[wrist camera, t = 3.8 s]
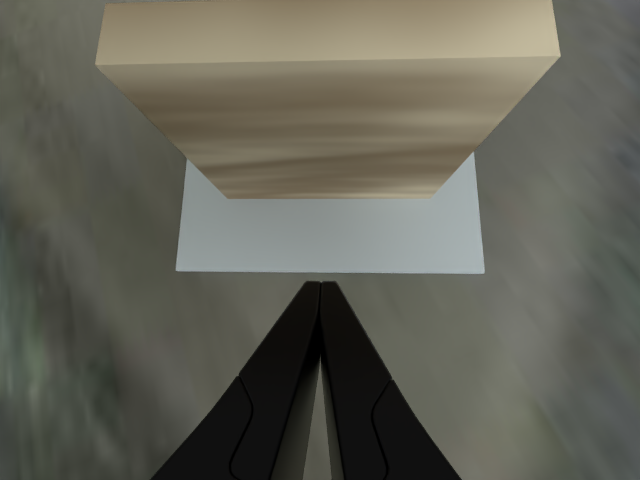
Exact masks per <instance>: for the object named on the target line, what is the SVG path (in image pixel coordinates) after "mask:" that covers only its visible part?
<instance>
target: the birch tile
mask: <svg viewBox="0 0 640 480" xmlns="http://www.w3.org/2000/svg"><path fill="white" fill-rule="evenodd" d="M559 57H560V49H559V43H558V37H557V31H556V24H555V18H554V12H553V5H552V0H214V1H177V2H140V3H106V5H105V10H104V16H103V22H102V27H101V33H100V39H99V44H98V50H97V56H96V62H95V66H96V67H97V68H98V69H99V70H100V71H101V72H102V73H103V74H104V75H105V76H106V77H107V78H108V79H109V80H110V81H111V82H112V83H113V84H114V85H115V86H116V87H117V88H118V89H119V90H120V91H121V92H122V93H123V94H124V95H125V96H126V97H127V98H128V99H129V100H130V101H131V102H132V103H133V104H134V105H135V106H136V107H137V108H138V109H139V110H140V111H141V112H142V113H143V114H144V115H145V116H146V117H147V118H148V119H149V120H150V121H151V122H152V123H153V124H154V125H155V126H156V127H157V128H158V129H159V130H160V131H161V132H162V133H163V134H164V135H165V136H166V137H167V138H168V139H169V140H170V141H171V142H172V143H173V144H174V145H175V146H176V147H177V148H178V149H179V150H180V151H181V152H182V153H183V154H184V155H185V156H186V157H187V158H188V159H189V160H190V161H191V162H192V163H193V164H194V165H195V167H196V168H197V169H198V170H199V171H200V172H201V173H202V174H203V175H204V176H205V177H206V178H207V179H208V180H209V181H210V182H211V183H212V184H213V185H214V186H215V187H216V188H217V189H218V190H219V191H220V192H221V193H222V194H223V195H224V196H225V197H226V198H227V199H431V197H432V196H433V195H434V194H435V193H436V192H437V191H438V190H439V189H440V188H441V186H442V185H443V184H444V183H445V182H446V181H447V180H448V179H449V178H450V177H451V176H452V174H453V173H454V172H455V171H456V170H457V169H458V168H459V167H460V166H461V165H462V163H463V162H464V161H465V160H466V159H467V158H468V157H469V156H470V155H471V154H472V153H473V151H474V150H475V149H476V148H477V147H478V146H479V145H480V144H481V143H482V142H483V140H484V139H485V138H486V137H487V136H488V135H489V134H490V133H491V132H492V131H493V130H494V128H495V127H496V126H497V125H498V124H499V123H500V122H501V121H502V120H503V119H504V117H505V116H506V115H507V114H508V113H509V112H510V111H511V110H512V109H513V108H514V107H515V105H516V104H517V103H518V102H519V101H520V100H521V99H522V98H523V97H524V96H525V94H526V93H527V92H528V91H529V90H530V89H531V88H532V87H533V86H534V85H535V84H536V82H537V81H538V80H539V79H540V78H541V77H542V76H543V75H544V74H545V73H546V71H547V70H548V69H549V68H550V67H551V66H552V65H553V64H554V63H555V62H556V60H557V59H558V58H559Z"/></svg>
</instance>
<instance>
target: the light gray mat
mask: <svg viewBox="0 0 640 480" xmlns="http://www.w3.org/2000/svg"><path fill="white" fill-rule="evenodd" d="M176 271H198V272H316V273H435V274H483V273H485V270H484V259H483V248H482V237H481V226H480V215H479V204H478V193H477V182H476V171H475V160H474V151H473V153H472V154H471V155H470V156H469V157H468V158H467V159H466V160H465V161H464V162H463V163H462V165H461V166H460V167H459V168H458V169H457V170H456V171H455V172H454V173H453V174H452V176H451V177H450V178H449V179H448V180H447V181H446V182H445V183H444V184H443V185H442V186H441V188H440V189H439V190H438V191H437V192H436V193H435V194H434V195H433V196H432V197H431V199H227V198H226V197H225V196H224V195H223V194H222V193H221V192H220V191H219V190H218V189H217V188H216V187H215V186H214V185H213V184H212V183H211V182H210V181H209V180H208V179H207V178H206V177H205V176H204V175H203V174H202V173H201V172H200V171H199V170H198V169H197V168H196V167H195V165H194V164H193V163H192V162H191V161H190V160H189V159H188V158H187V164H186V174H185V184H184V194H183V203H182V213H181V223H180V233H179V242H178V252H177V262H176Z"/></svg>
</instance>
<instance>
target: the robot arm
mask: <svg viewBox="0 0 640 480" xmlns="http://www.w3.org/2000/svg"><path fill="white" fill-rule="evenodd" d="M320 355H321V373H322V383H323V393H324V404H325V414H326V424H327V434H328V444H329V455H330V465H331V475H332V480H462V479H461V478H460V477H459V475H458V474H457V473H456V471H455V470H454V469H453V467H452V466H451V465H450V463H449V462H448V460H447V459H446V458H445V456H444V455H443V454H442V452H441V451H440V450H439V448H438V447H437V446H436V444H435V443H434V442H433V440H432V439H431V437H430V436H429V434H428V433H427V432H426V430H425V429H424V427H423V426H422V424H421V423H420V422H419V420H418V419H417V417H416V416H415V414H414V413H413V411H412V409H411V408H410V406H409V405H408V403H407V401H406V400H405V398H404V397H403V395H402V393H401V392H400V390H399V388H398V386H397V385H396V383H395V381H394V380H392V376H391V375H390V373H389V371H388V369H387V368H386V366H385V364H384V362H383V361H382V359H381V357H380V356H379V354H378V352H377V350H376V349H375V347H374V345H373V343H372V342H371V340H370V338H369V337H368V335H367V333H366V331H365V330H364V328H363V326H362V324H361V323H360V321H359V319H358V318H357V316H356V314H355V312H354V311H353V309H352V307H351V305H350V304H349V302H348V300H347V298H346V297H345V295H344V293H343V292H342V290H341V288H340V286H339V285H338V283H337V282H336V281H323V282H322V283H321V282H320V281H306V282H305V283H304V284H303V286H302V287H301V288H300V290H299V291H298V293H297V294H296V295H295V297H294V298H293V299H292V301H291V302H290V304H289V305H288V306H287V308H286V309H285V310H284V312H283V313H282V315H281V316H280V317H279V319H278V320H277V321H276V323H275V324H274V326H273V327H272V328H271V330H270V331H269V333H268V334H267V335H266V337H265V338H264V339H263V341H262V342H261V344H260V345H259V346H258V348H257V349H256V350H255V352H254V353H253V355H252V356H251V357H250V359H249V360H248V361H247V363H246V364H245V366H244V367H243V368H242V370H241V371H240V373H239V376H237V377H236V378H235V379H234V381H233V382H232V383H231V385H230V386H229V388H228V389H227V390H226V392H225V393H224V394H223V395H222V397H221V398H220V399H219V401H218V402H217V403H216V405H215V406H214V407H213V408H212V410H211V411H210V412H209V413H208V414H207V416H206V417H205V418H204V419H203V420H202V421H201V423H200V424H199V425H198V426H197V427H196V428H195V430H194V431H193V432H192V433H191V434H190V435H189V436H188V438H187V439H186V440H185V441H184V442H183V443H182V444H181V445H180V447H179V448H178V449H177V450H176V451H175V452H174V453H173V454H172V455H171V457H170V458H169V459H168V460H167V461H166V462H165V463H164V464H163V466H162V467H161V468H160V469H159V470H158V471H157V472H156V473H155V474H154V476H153V477H152V478H151V479H150V480H302V479H303V472H304V466H305V459H306V452H307V446H308V439H309V433H310V426H311V419H312V413H313V406H314V400H315V393H316V387H317V380H318V373H319V366H320Z"/></svg>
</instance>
